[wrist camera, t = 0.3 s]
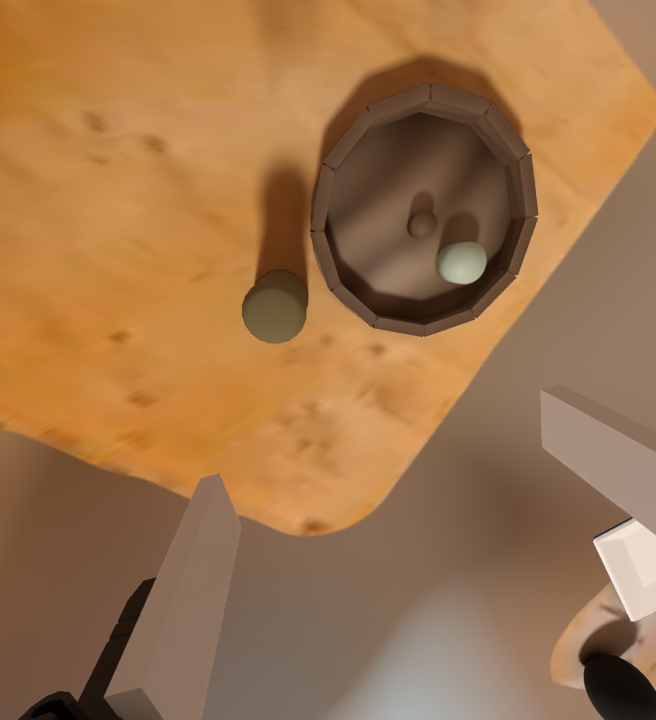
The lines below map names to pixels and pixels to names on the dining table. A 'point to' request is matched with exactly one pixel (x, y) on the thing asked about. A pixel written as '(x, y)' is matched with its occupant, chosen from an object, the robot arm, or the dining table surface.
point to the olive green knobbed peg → (276, 307)
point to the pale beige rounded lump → (460, 262)
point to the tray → (422, 208)
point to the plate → (631, 565)
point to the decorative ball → (619, 689)
